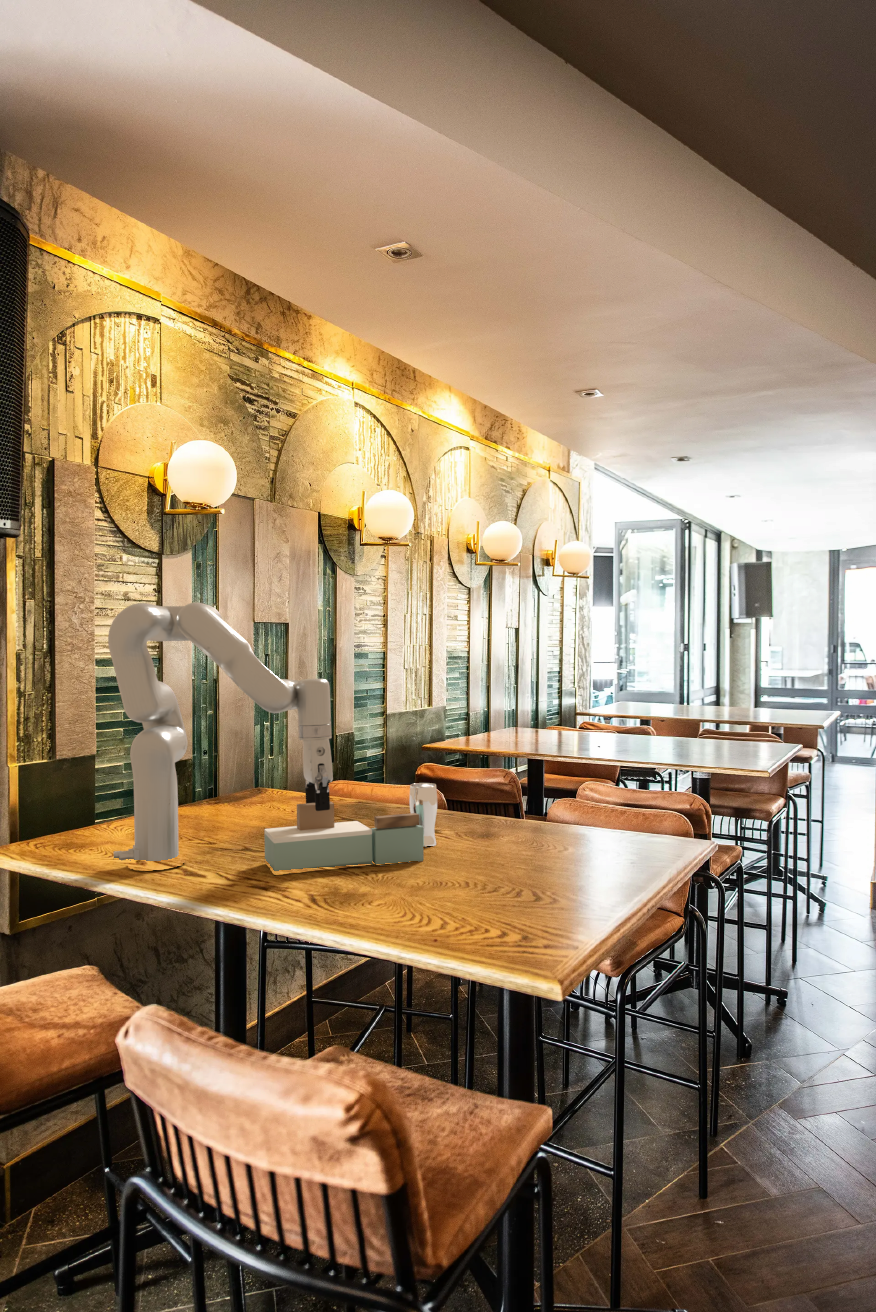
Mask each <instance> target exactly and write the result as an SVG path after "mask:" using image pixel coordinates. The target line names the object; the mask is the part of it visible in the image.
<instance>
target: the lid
mask: <svg viewBox="0 0 876 1312" xmlns="http://www.w3.org/2000/svg"><path fill="white" fill-rule="evenodd" d="M263 832H264V835H265V834H266V835H267V836H268V837H269V839H270V840H271V841H272V842H273V843H284V842H295V841H305V840H316V839H327V838H338V837H348V836H359V835H370V834H372V830H371V828H370V827H368V826H366V825H365V824H363V823H361V822H360V821H358V820H353V821H339V822H335V803H334V802H332V801H330V809H329V810H324V811H316V809H315V803H306V802H305V803H297V804H296V825H294V826H292V825H291V826H282V827H281V826H280V827H270V828H264V831H263Z"/></svg>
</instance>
